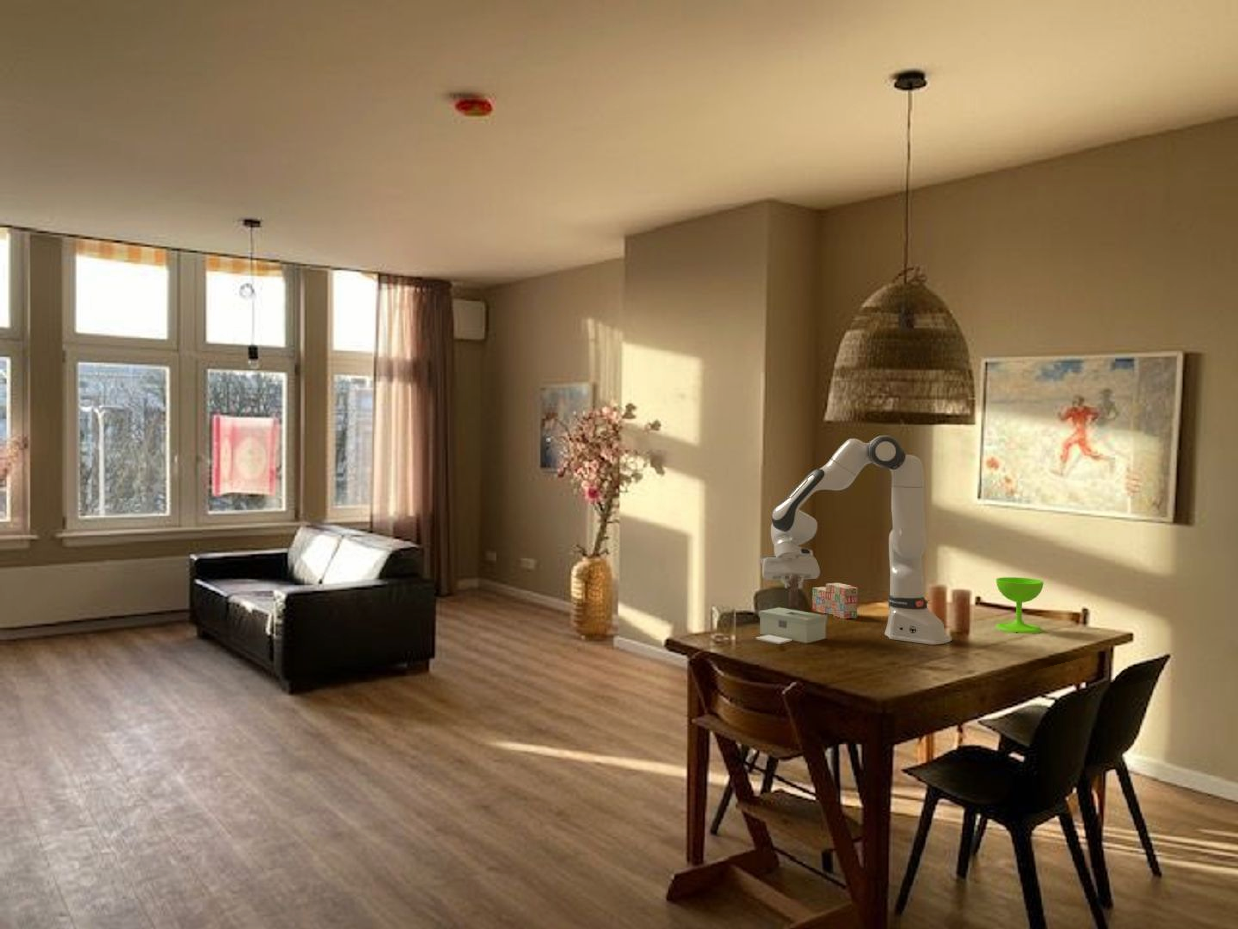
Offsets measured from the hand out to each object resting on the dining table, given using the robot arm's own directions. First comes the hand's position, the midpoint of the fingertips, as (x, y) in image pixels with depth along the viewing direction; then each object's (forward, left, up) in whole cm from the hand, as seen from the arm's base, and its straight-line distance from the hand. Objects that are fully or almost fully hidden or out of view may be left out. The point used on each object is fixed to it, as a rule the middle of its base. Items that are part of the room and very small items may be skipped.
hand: (793, 587), depth 319 cm
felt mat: (+1, +10, -17) cm, 20 cm away
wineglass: (-46, -74, -18) cm, 89 cm away
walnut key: (0, -1, -7) cm, 7 cm away
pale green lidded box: (+1, 0, -17) cm, 17 cm away
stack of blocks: (+15, -47, -18) cm, 53 cm away
